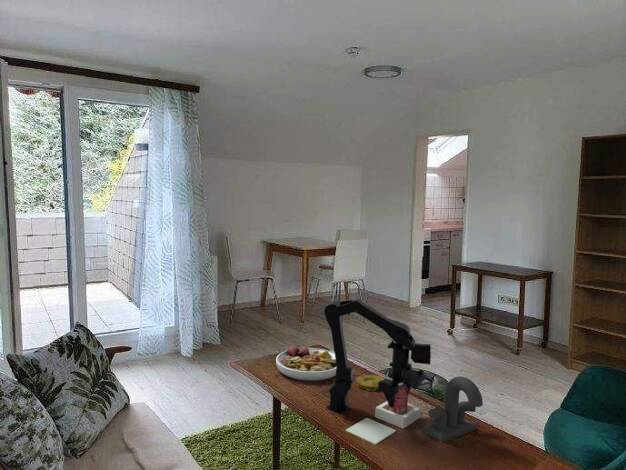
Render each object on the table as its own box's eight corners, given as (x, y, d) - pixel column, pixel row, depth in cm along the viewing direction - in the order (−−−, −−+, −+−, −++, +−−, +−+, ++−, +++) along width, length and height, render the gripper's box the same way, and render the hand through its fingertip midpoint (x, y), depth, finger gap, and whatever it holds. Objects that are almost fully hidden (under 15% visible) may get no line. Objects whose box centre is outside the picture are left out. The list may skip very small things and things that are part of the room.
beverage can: (394, 411, 171) (395, 379, 170) (409, 416, 167) (411, 384, 166) (385, 417, 166) (387, 384, 165) (401, 423, 162) (402, 389, 161)
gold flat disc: (350, 384, 195) (350, 379, 195) (370, 377, 202) (370, 372, 202) (371, 394, 186) (371, 389, 185) (391, 387, 193) (391, 381, 193)
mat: (375, 444, 148) (375, 443, 148) (345, 431, 156) (345, 429, 156) (396, 431, 157) (396, 430, 157) (366, 418, 165) (366, 417, 165)
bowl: (357, 371, 208) (358, 354, 208) (307, 390, 188) (308, 371, 187) (311, 353, 230) (311, 337, 229) (262, 368, 210) (262, 351, 209)
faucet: (458, 454, 144) (462, 391, 142) (421, 431, 158) (424, 373, 156) (496, 439, 154) (500, 380, 152) (458, 418, 167) (462, 364, 165)
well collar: (403, 428, 159) (403, 418, 158) (375, 416, 166) (375, 407, 166) (420, 417, 167) (420, 407, 167) (392, 406, 175) (393, 397, 174)
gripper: (406, 374, 153) (404, 420, 154) (434, 360, 166) (431, 402, 168) (377, 365, 160) (376, 409, 161) (406, 352, 174) (404, 393, 175)
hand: (398, 403), depth 166 cm, fingers open, 9 cm apart
